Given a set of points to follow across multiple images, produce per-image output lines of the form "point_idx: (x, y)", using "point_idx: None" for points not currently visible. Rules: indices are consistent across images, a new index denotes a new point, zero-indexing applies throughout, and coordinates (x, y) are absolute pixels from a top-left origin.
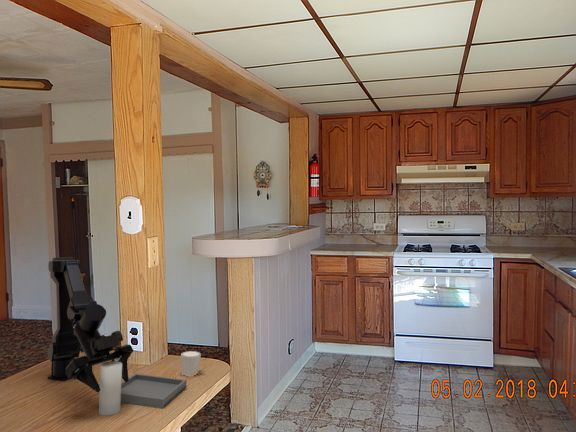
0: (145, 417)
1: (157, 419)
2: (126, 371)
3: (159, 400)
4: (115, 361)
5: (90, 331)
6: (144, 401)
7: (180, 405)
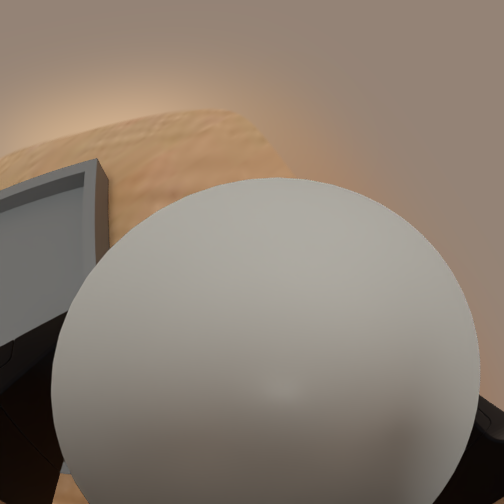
0: (203, 182)
1: (198, 142)
2: (48, 332)
3: (98, 175)
4: (83, 489)
5: None
6: (102, 252)
7: (72, 150)
